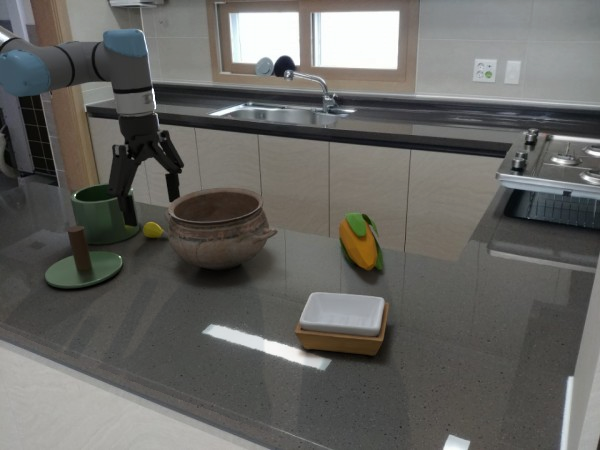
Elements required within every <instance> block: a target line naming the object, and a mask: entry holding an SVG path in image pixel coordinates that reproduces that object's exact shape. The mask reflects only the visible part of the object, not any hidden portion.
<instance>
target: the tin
mask: <svg viewBox="0 0 600 450" xmlns="http://www.w3.org/2000/svg"><path fill="white" fill-rule="evenodd" d="M108 183H109V182H105V183H97V184H92V185H89V186H85V187H83V188H79V189H78V190H76V191H74V192H73V193H72V194H71V195H70V203H71V207H72V212H73V215H74V221H75V226H83V227H84V232H85V236H86V241H87V245H96V246H98V245H100V246H102V245H110V244H115V243H119V242H122V241H125V240H128V239H130V238H132V237H134V236H135V235H136V234H137V233H138V232H139V230H140V225H139V224H140V223H139V218H138V213H137V207H136V201H135V195H134V191H133V186H132V185H131V188H130V191H129V194H128V195H132V198H133V203H134V209H135V214H136V220H137V225H138V226H136V227H133V226H128V225H125V223H124V218H123V213H122V212H121V211H120V209H119V204H118V199H117V197H116V196H110V195H108V194H107V189H108ZM114 190H115V189H114ZM122 190H123V189H122Z"/></svg>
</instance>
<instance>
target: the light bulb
mask: <svg viewBox="0 0 600 450" xmlns="http://www.w3.org/2000/svg"><path fill="white" fill-rule="evenodd" d="M142 231H143V235H144V236H145V237H147V238H149V239H157V238H159V239H165V240H167V239H169V238H168V231H167V232H166V231H165V230H164V229H162V228H161V226H160V225H159V224H158V223H156V222H154V221H148V222H146V223H145V224H144V226H143V227H142Z"/></svg>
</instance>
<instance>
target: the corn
mask: <svg viewBox="0 0 600 450" xmlns="http://www.w3.org/2000/svg"><path fill="white" fill-rule="evenodd" d="M344 217H345V218H344V219H343V220H341V222H340V224H339V227H338V236H339V237H338V238H339V244H340V247H341V250H342V251H343V254H344V256H345V257H346V259H347V260H348V262H350V263H351V264H352V265H357V266H358V267H360V268H362V269H364V270H366V271H370V270H373V268H374V267H375V268H376V269H377V270H382V269H383V265H384V256H383V251H382V249H381V246H380V244H379V242H378V240H377V238H379V237H380V236H379V233H378V228H377V225H376V223H375V221H374V220H373V219H372V218H371V217H370V216H369V215H367V214H365V213H361V212H348V213H346V214H344ZM371 227H372V229H371ZM372 230H373V231H374V232H373V231H372ZM374 233H375V234H376V236H377V238H376V236H375V234H374Z"/></svg>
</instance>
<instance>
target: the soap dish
mask: <svg viewBox="0 0 600 450" xmlns="http://www.w3.org/2000/svg"><path fill="white" fill-rule="evenodd" d="M389 308H390V302H386V301H385V299H384V298H383V297H380V296H372V295H363V294H349V293H336V292H335V293H334V292H321V291H319V292H317V291H316V292H312V293H310V295H309V296H308V298H307V301H306V303H305V305H304V307H303V310H302V311H301V314H300V315H301V316H299V317H300V318H299V320H298V323H297V325H296V328H295V330H294V334H295V336H296V337H297V339H298V341H299V342H300V344H301V345H302V346H303V348H304V349H306V350H307V351H310V350H318V351H328V352H335V353H336V352H338V353H346V354H347V353H348V354H355V355H356V354H357V355H365V356H369V357H373V356H376V355H377V354H378V352H379V349H380V348H381V346H382V344H383V341H384V338H385V332H386V326H387V320H388V313H389Z"/></svg>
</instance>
